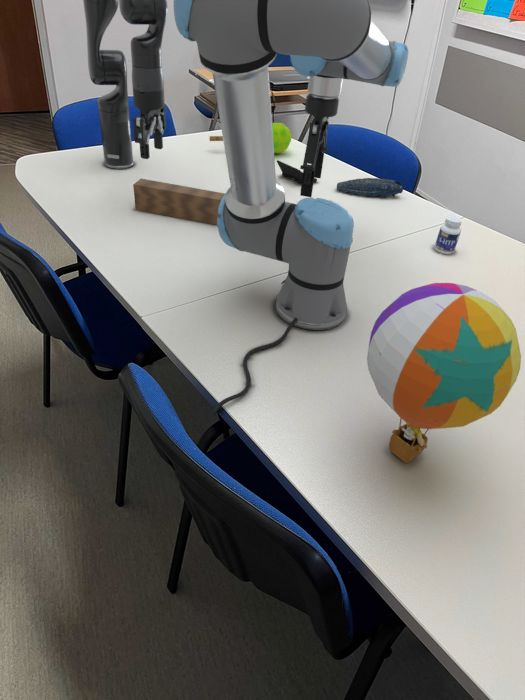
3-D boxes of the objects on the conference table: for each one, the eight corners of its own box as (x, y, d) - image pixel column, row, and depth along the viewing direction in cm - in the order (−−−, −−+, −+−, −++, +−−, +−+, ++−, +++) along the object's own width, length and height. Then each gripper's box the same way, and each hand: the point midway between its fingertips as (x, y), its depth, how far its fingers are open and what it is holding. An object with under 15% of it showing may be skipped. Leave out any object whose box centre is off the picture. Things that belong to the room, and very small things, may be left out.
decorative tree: (206, 116, 188) (287, 116, 194) (207, 146, 195) (285, 145, 200) (212, 130, 175) (298, 130, 180) (212, 162, 181) (296, 160, 186)
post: (324, 237, 141) (328, 211, 137) (321, 244, 138) (325, 218, 133) (142, 203, 149) (140, 178, 145) (135, 209, 146) (133, 184, 141)
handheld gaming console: (320, 175, 173) (310, 154, 164) (311, 192, 172) (300, 172, 163) (292, 170, 179) (281, 150, 171) (283, 187, 178) (271, 167, 169)
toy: (317, 443, 83) (351, 282, 64) (393, 393, 94) (441, 242, 75) (417, 530, 72) (494, 366, 53) (490, 462, 83) (575, 305, 64)
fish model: (402, 201, 164) (405, 185, 161) (336, 194, 165) (338, 178, 162) (400, 193, 170) (403, 178, 167) (335, 186, 171) (338, 171, 168)
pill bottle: (433, 251, 139) (442, 220, 133) (435, 243, 143) (444, 213, 137) (453, 256, 138) (464, 225, 132) (454, 247, 142) (465, 217, 136)
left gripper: (146, 78, 133) (150, 143, 143) (120, 90, 122) (126, 159, 132) (173, 82, 132) (175, 147, 142) (150, 94, 121) (154, 164, 131)
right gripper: (316, 82, 128) (305, 168, 141) (296, 105, 109) (285, 201, 122) (346, 86, 127) (332, 172, 140) (331, 110, 108) (317, 207, 121)
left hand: (152, 153), depth 137 cm, fingers open, 8 cm apart
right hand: (310, 186), depth 131 cm, fingers open, 13 cm apart
